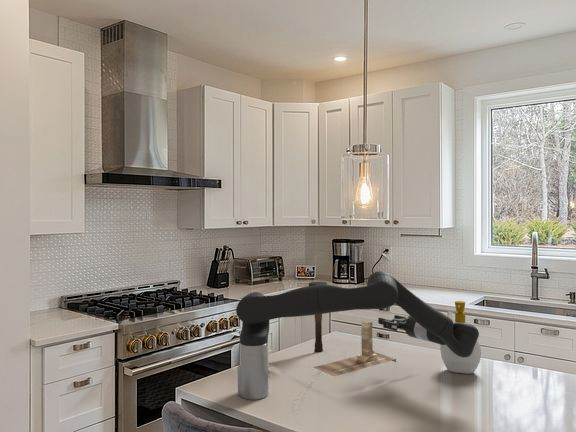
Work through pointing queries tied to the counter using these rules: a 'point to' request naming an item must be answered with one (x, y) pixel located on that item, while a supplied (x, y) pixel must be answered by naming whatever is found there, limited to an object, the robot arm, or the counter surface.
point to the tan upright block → (367, 343)
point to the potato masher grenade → (318, 326)
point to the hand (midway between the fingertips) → (386, 319)
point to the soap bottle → (455, 361)
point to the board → (351, 364)
